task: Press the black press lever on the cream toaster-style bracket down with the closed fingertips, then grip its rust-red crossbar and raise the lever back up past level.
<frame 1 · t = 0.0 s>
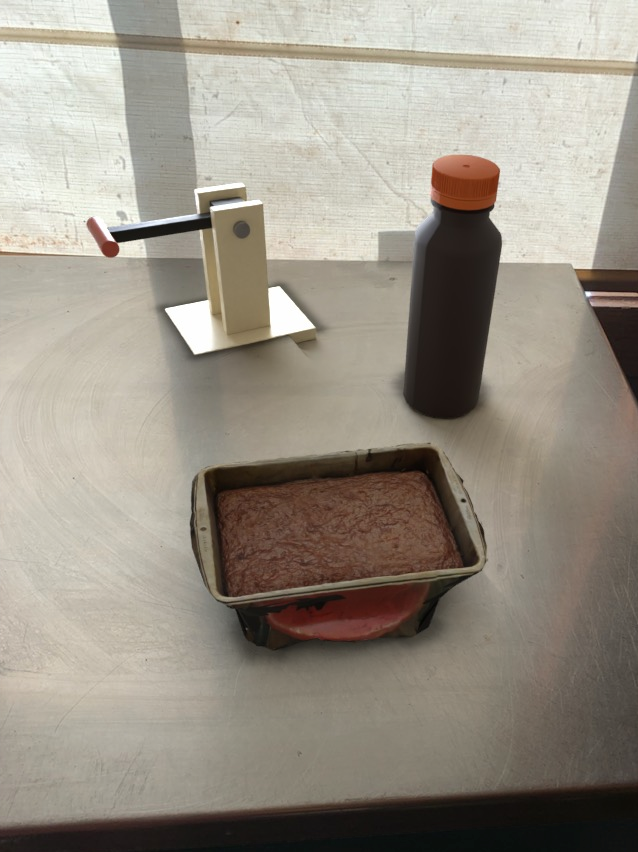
bracket: (240, 329, 77), on the table
baking dish: (336, 585, 54), on the table
bottle: (440, 399, 71), on the table
lever: (172, 226, 67), point 11 cm above the table, hinge at 0.0°
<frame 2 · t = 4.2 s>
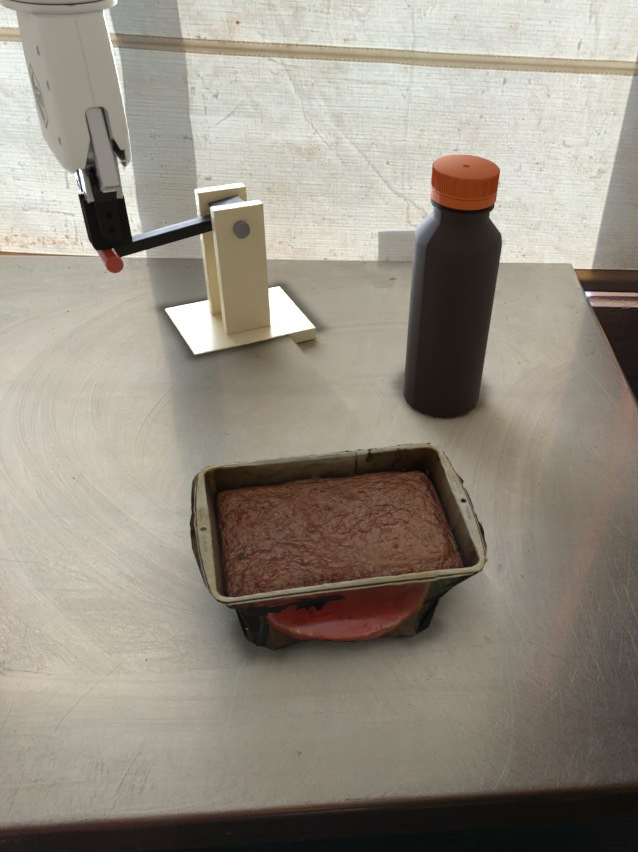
hand: (111, 243, 65), 10 cm above the table, tool pointing down, fingers closed
lever: (173, 233, 68), point 10 cm above the table, hinge at -7.0°, touching gripper
everything else where it was.
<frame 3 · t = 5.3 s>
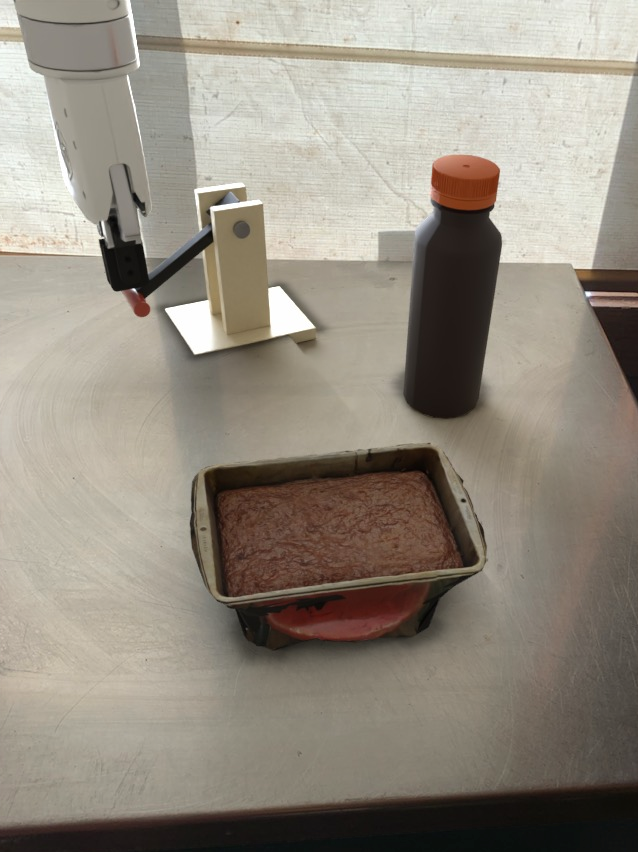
hand: (129, 284, 69), 7 cm above the table, tool pointing down, fingers closed
lever: (185, 254, 69), point 8 cm above the table, hinge at -31.0°, touching gripper
everything else where it was.
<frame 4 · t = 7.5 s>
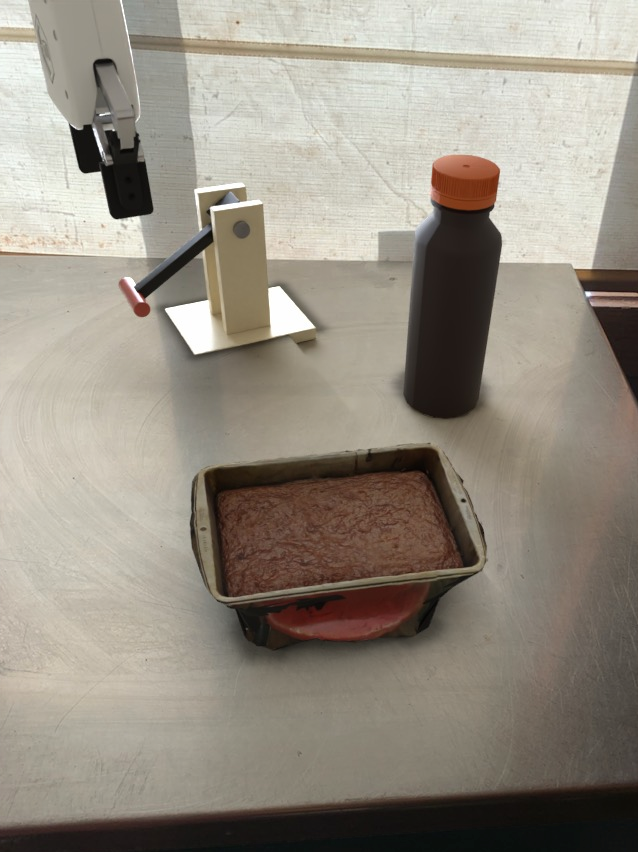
hand: (115, 191, 63), 14 cm above the table, tool pointing down, fingers open, 9 cm apart
lever: (185, 254, 69), point 8 cm above the table, hinge at -31.1°
everything else where it was.
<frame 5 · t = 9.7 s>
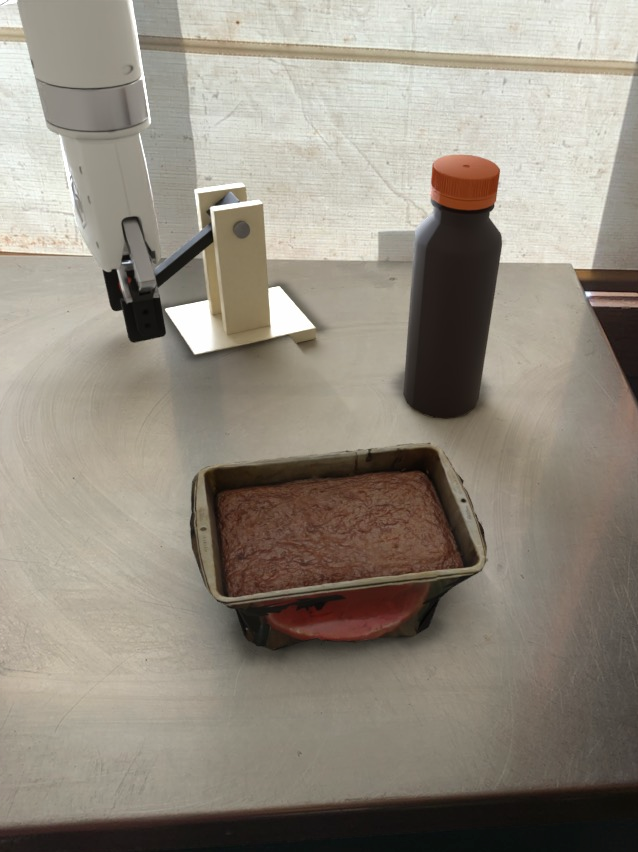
hand: (137, 320, 71), 3 cm above the table, tool pointing down, fingers closed on lever, 5 cm apart
lever: (185, 254, 69), point 8 cm above the table, hinge at -31.1°, touching gripper
everything else where it was.
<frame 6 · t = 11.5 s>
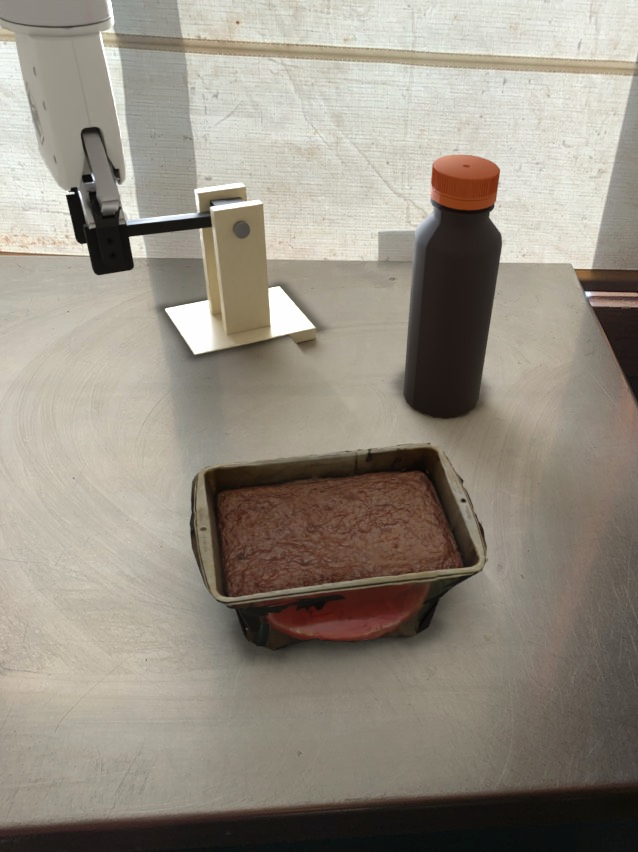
hand: (104, 253, 66), 10 cm above the table, tool pointing down, fingers closed on lever, 5 cm apart
lever: (172, 223, 67), point 11 cm above the table, hinge at 2.4°, touching gripper
everything else where it was.
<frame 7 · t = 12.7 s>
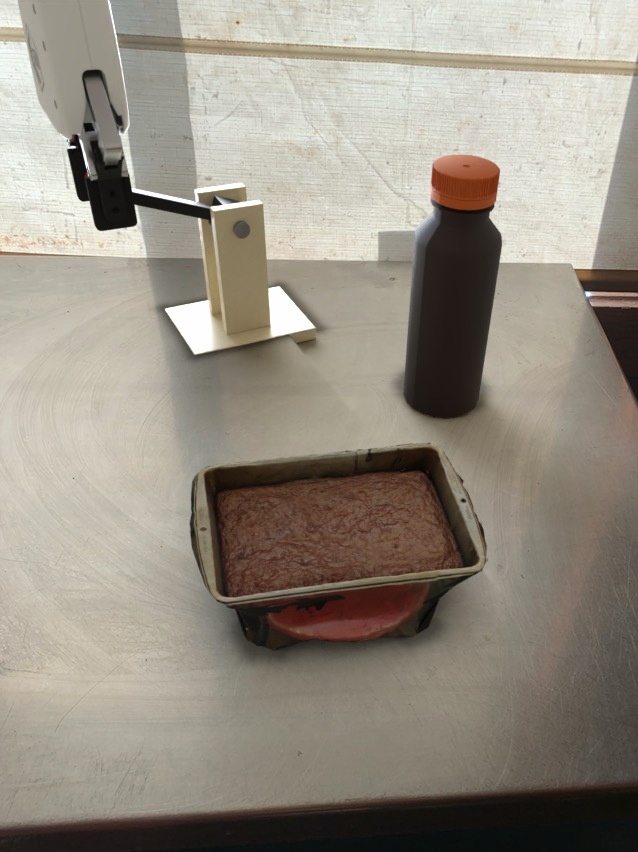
hand: (107, 210, 64), 13 cm above the table, tool pointing down, fingers closed on lever, 5 cm apart
lever: (173, 204, 66), point 13 cm above the table, hinge at 19.9°, touching gripper
everything else where it was.
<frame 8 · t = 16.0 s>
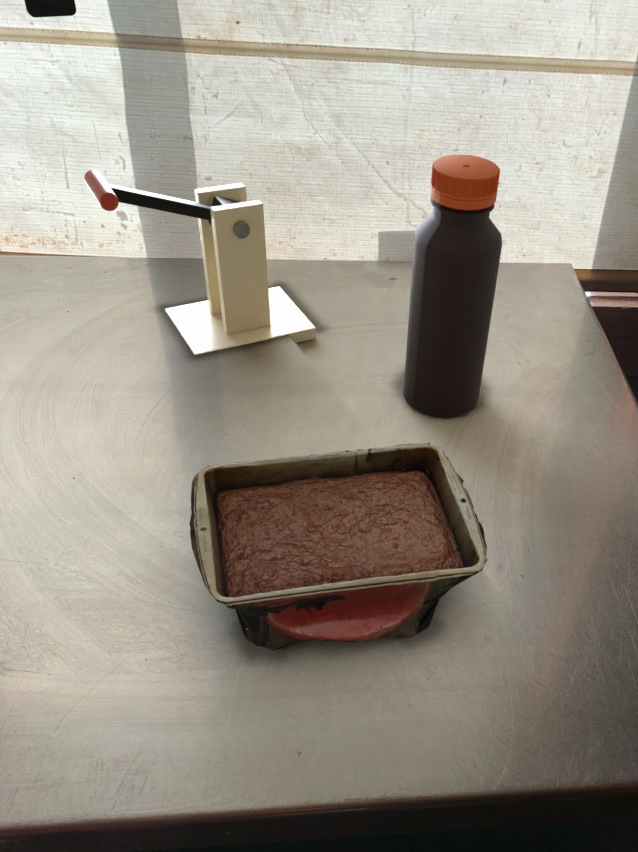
lever: (172, 205, 66), point 13 cm above the table, hinge at 19.6°
everything else where it was.
at the end: lever reached -31° during the clip, +20° at the end; lever at +20° (first picture: +0°); baking dish moved 0.2 cm from its start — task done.
